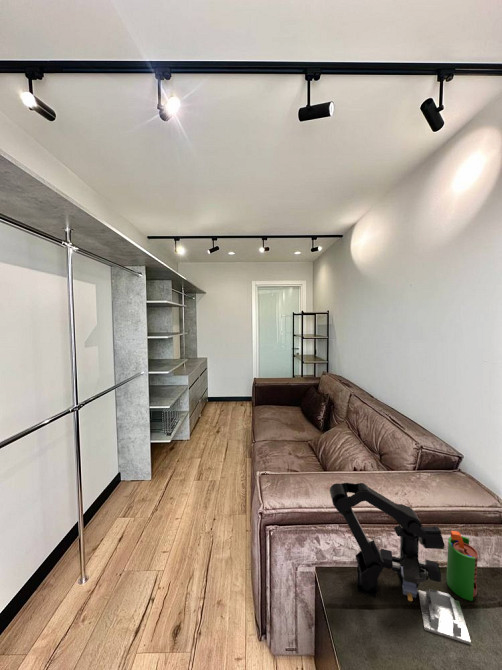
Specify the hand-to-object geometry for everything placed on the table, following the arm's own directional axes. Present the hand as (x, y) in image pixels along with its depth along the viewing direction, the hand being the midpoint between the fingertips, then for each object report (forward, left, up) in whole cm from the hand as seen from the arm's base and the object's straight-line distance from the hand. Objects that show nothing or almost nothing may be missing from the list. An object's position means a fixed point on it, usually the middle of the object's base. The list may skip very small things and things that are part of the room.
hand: (408, 585), depth 107 cm
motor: (+18, +7, -1) cm, 19 cm away
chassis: (+9, -7, -1) cm, 11 cm away
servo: (0, 0, -1) cm, 1 cm away
